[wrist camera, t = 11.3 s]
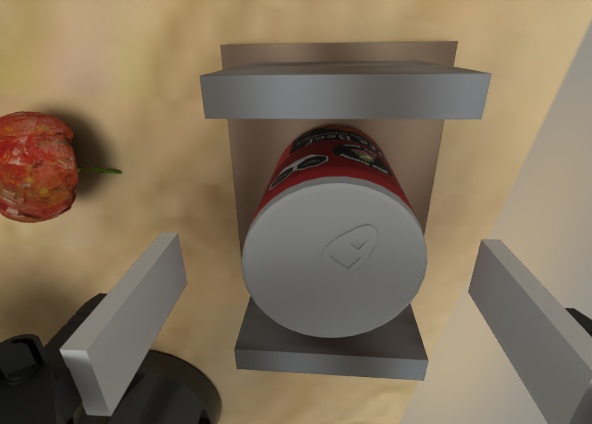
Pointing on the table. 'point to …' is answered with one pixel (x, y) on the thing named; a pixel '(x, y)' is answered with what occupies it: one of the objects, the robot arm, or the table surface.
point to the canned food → (333, 238)
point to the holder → (352, 113)
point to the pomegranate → (37, 167)
